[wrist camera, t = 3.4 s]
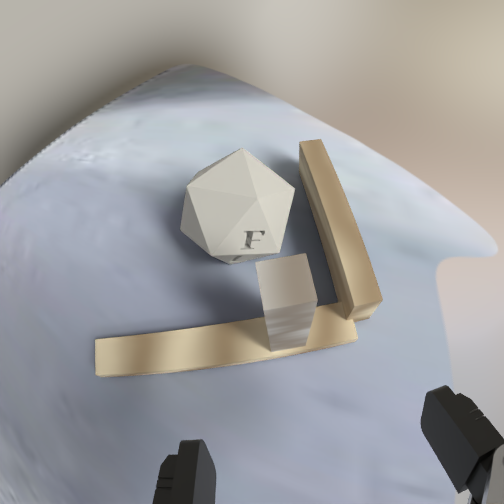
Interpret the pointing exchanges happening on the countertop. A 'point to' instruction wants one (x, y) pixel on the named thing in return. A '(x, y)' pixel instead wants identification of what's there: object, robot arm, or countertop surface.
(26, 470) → the countertop surface
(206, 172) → the die
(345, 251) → the l-shaped corner bracket
